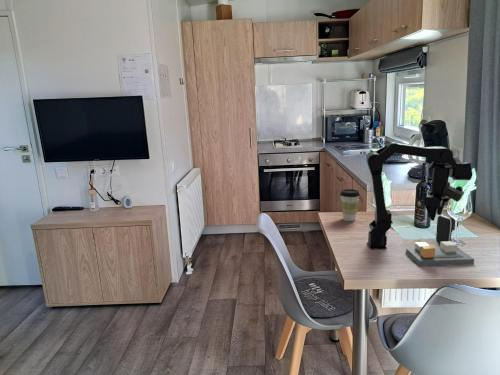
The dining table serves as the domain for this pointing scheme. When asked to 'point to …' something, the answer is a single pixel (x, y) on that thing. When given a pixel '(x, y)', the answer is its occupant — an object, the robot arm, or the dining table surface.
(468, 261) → the panel
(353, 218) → the coffee cup
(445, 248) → the cream button
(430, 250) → the block slider
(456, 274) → the dining table surface
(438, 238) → the battery charger
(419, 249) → the grey button
